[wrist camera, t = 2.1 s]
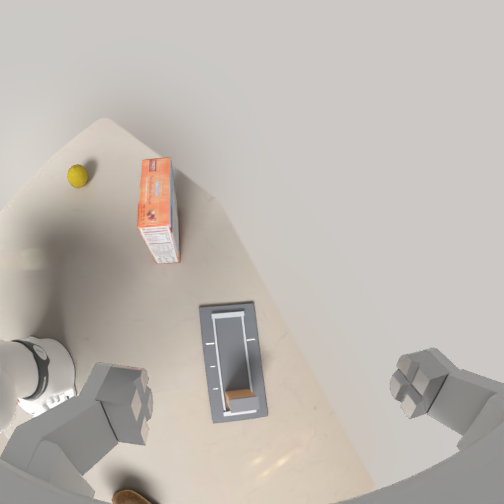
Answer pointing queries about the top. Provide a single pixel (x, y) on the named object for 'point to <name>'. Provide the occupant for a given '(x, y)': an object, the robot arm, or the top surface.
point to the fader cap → (242, 400)
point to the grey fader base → (231, 358)
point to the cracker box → (159, 210)
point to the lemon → (77, 176)
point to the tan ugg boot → (129, 498)
